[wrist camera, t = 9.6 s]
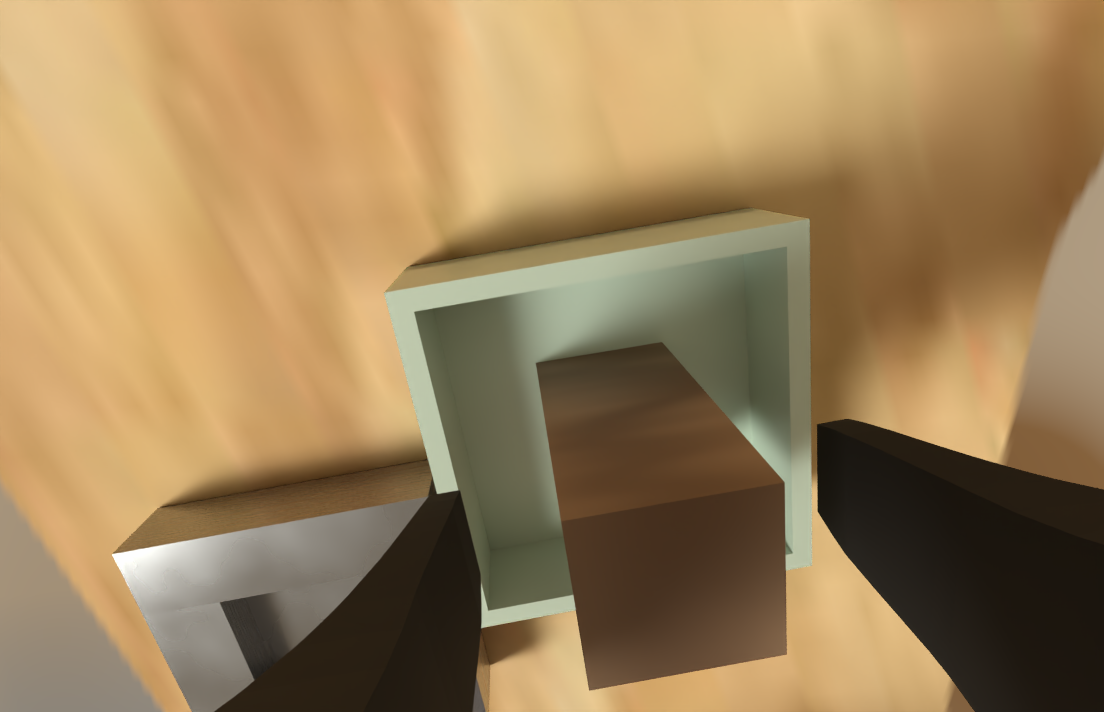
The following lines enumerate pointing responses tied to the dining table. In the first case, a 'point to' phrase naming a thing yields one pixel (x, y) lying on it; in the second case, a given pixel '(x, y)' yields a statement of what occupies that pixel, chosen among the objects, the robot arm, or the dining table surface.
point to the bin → (591, 327)
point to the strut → (662, 519)
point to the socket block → (265, 572)
